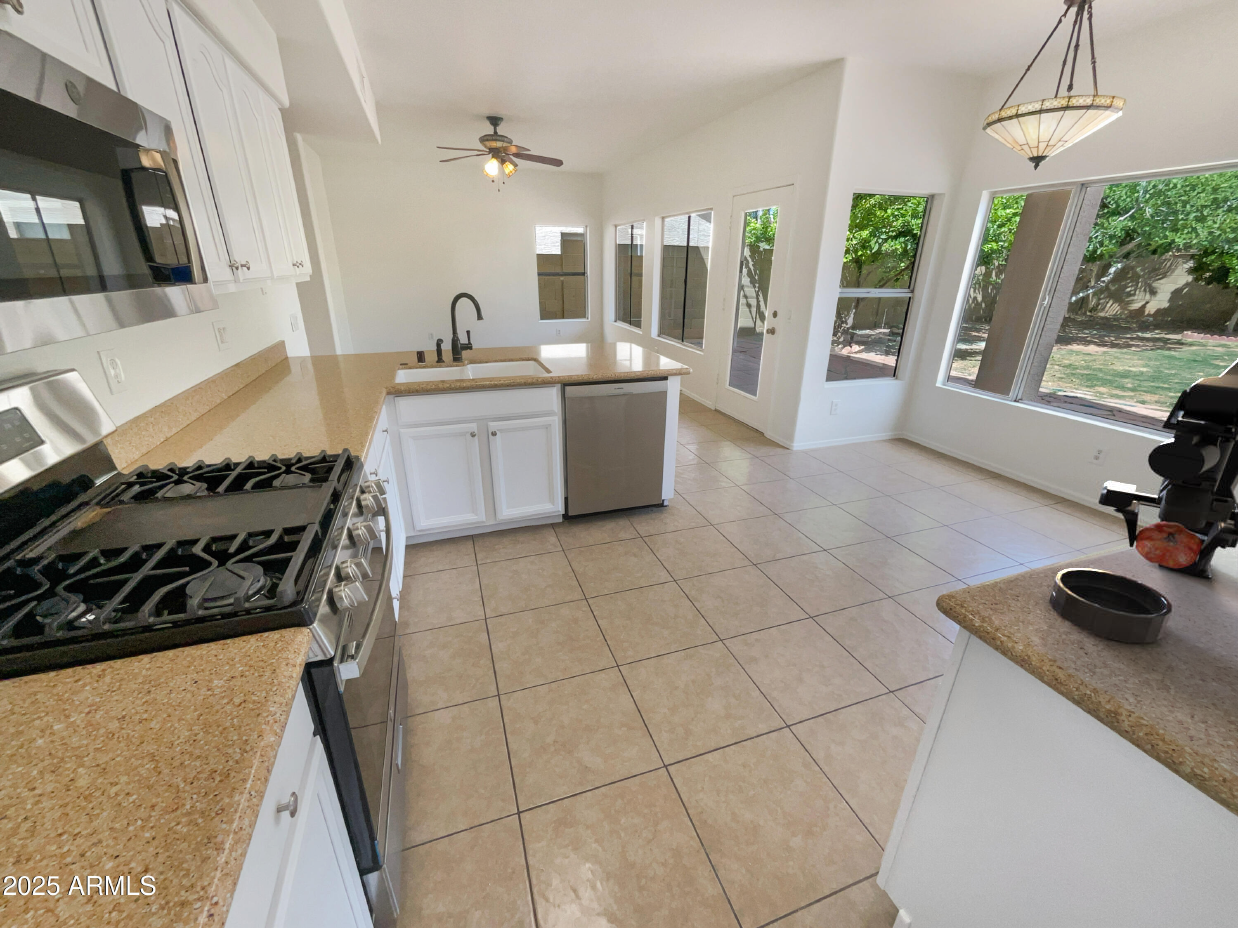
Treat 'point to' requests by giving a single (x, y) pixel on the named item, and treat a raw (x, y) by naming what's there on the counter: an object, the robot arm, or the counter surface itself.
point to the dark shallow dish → (1110, 605)
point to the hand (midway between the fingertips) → (1163, 553)
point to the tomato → (1168, 544)
